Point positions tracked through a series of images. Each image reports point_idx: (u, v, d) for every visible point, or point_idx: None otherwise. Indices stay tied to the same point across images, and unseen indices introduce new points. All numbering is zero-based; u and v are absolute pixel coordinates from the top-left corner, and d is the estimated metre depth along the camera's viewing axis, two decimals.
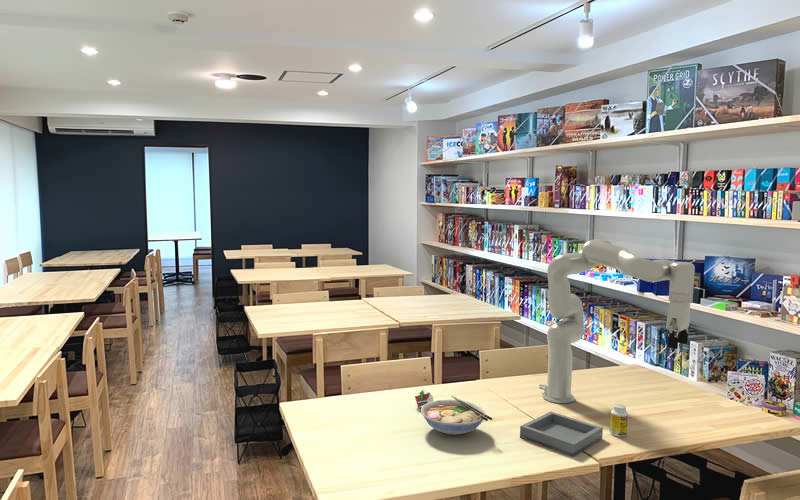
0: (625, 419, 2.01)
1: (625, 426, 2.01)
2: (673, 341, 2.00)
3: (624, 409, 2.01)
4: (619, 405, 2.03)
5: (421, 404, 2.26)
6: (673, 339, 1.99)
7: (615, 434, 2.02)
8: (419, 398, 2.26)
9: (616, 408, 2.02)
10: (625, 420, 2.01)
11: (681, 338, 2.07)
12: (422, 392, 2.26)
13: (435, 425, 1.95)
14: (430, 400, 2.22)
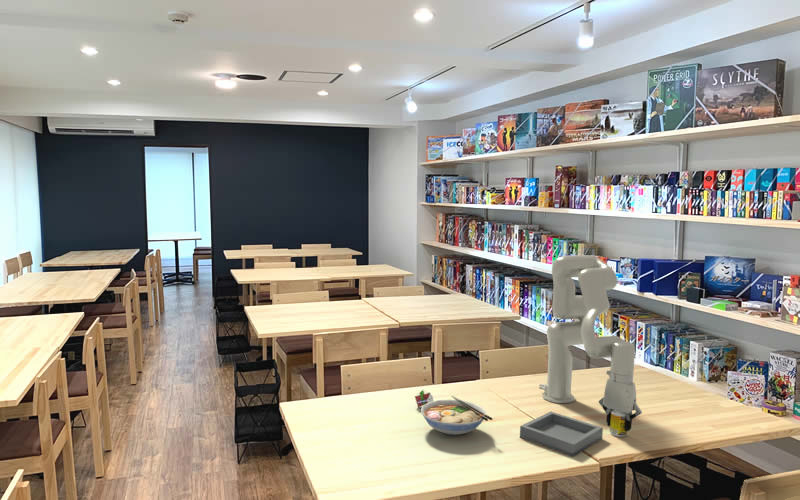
0: (626, 419, 2.01)
1: None
2: (631, 423, 2.01)
3: None
4: None
5: (421, 404, 2.26)
6: (631, 421, 2.01)
7: (615, 434, 2.02)
8: (419, 398, 2.26)
9: None
10: None
11: None
12: (422, 392, 2.26)
13: (435, 425, 1.95)
14: (430, 400, 2.22)
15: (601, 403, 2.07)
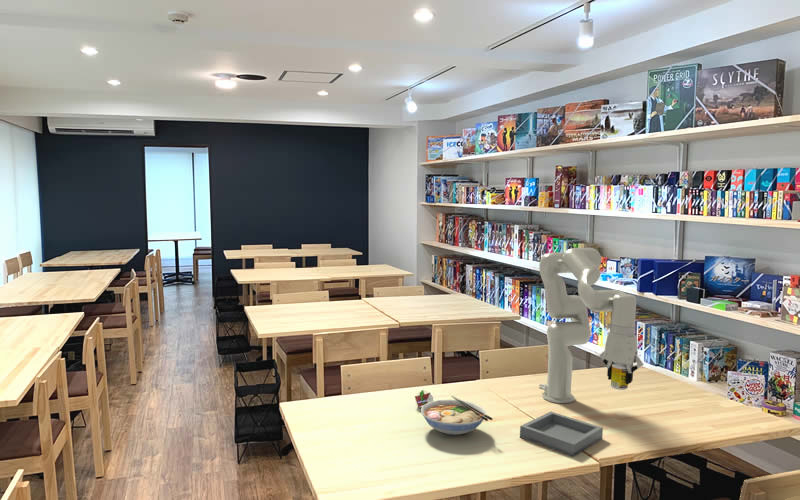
0: (627, 371, 1.99)
1: None
2: (632, 376, 1.99)
3: None
4: None
5: (421, 404, 2.26)
6: (632, 374, 1.99)
7: (616, 387, 2.00)
8: (419, 398, 2.26)
9: None
10: None
11: None
12: (422, 392, 2.26)
13: (435, 425, 1.95)
14: (430, 400, 2.22)
15: (602, 357, 2.05)
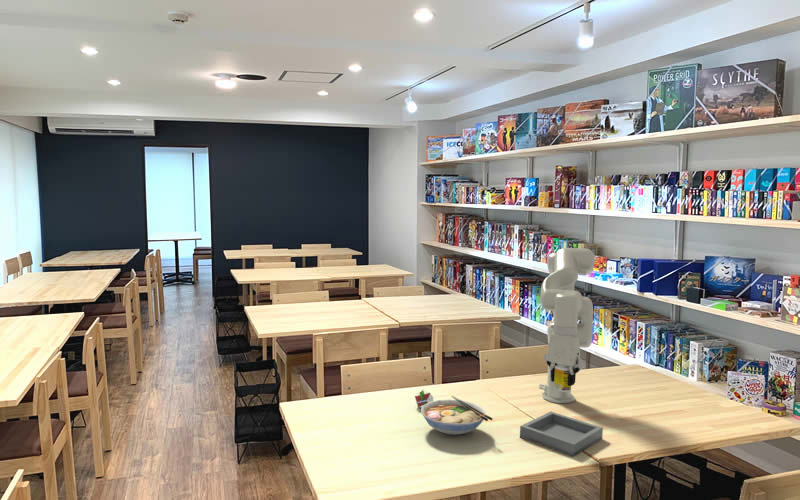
0: (569, 373, 1.94)
1: None
2: (574, 378, 1.94)
3: None
4: None
5: (421, 404, 2.26)
6: (575, 376, 1.94)
7: (559, 389, 1.95)
8: (419, 398, 2.26)
9: None
10: None
11: None
12: (422, 392, 2.26)
13: (435, 425, 1.95)
14: (430, 400, 2.22)
15: (545, 358, 2.00)
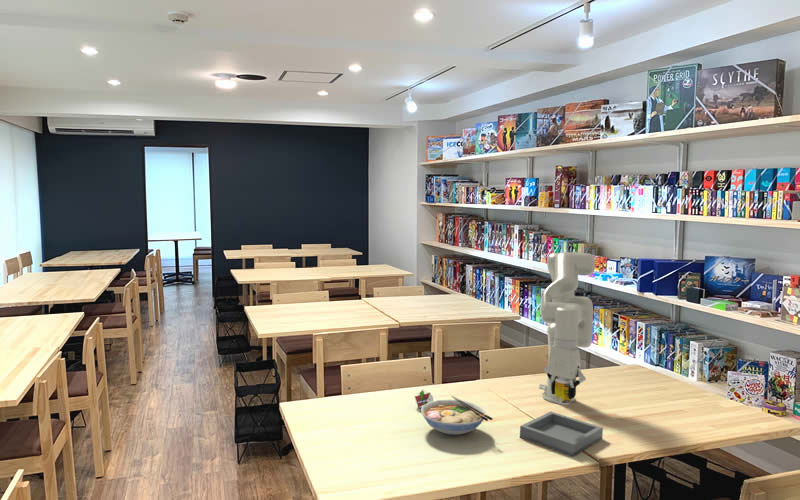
0: (569, 386, 1.95)
1: None
2: (575, 390, 1.95)
3: None
4: None
5: (421, 404, 2.26)
6: (575, 389, 1.95)
7: (559, 402, 1.96)
8: (419, 398, 2.26)
9: None
10: None
11: None
12: (422, 392, 2.26)
13: (435, 425, 1.95)
14: (430, 400, 2.22)
15: (546, 371, 2.01)
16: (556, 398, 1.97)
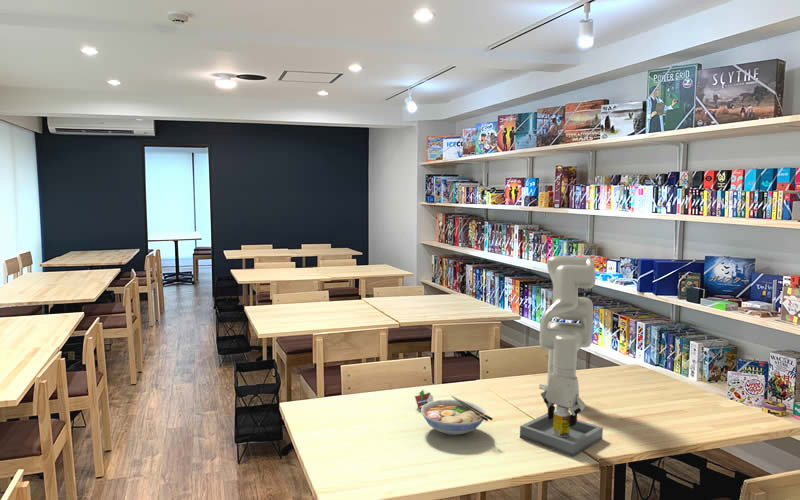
0: (568, 419, 1.97)
1: (567, 426, 1.97)
2: (576, 418, 1.96)
3: (566, 409, 1.97)
4: None
5: (421, 404, 2.26)
6: (576, 416, 1.95)
7: (557, 434, 1.97)
8: (419, 398, 2.26)
9: (558, 408, 1.98)
10: (567, 420, 1.97)
11: (552, 414, 2.01)
12: (422, 392, 2.26)
13: (435, 425, 1.95)
14: (430, 400, 2.22)
15: (543, 396, 2.03)
16: (554, 431, 1.98)
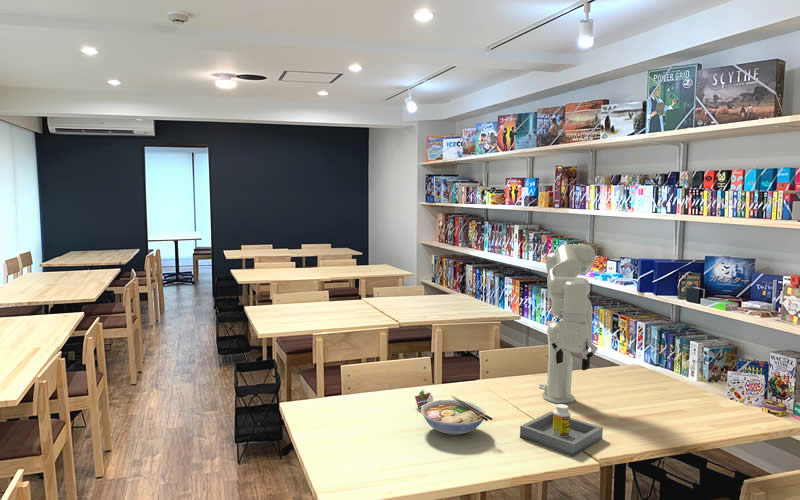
0: (568, 419, 1.97)
1: (567, 426, 1.97)
2: (588, 362, 1.96)
3: (566, 409, 1.97)
4: (561, 405, 1.99)
5: (421, 404, 2.26)
6: (588, 360, 1.96)
7: (557, 435, 1.97)
8: (419, 398, 2.26)
9: (558, 408, 1.98)
10: (567, 420, 1.97)
11: (560, 358, 2.03)
12: (422, 392, 2.26)
13: (435, 425, 1.95)
14: (430, 400, 2.22)
15: (552, 340, 2.04)
16: (554, 431, 1.98)
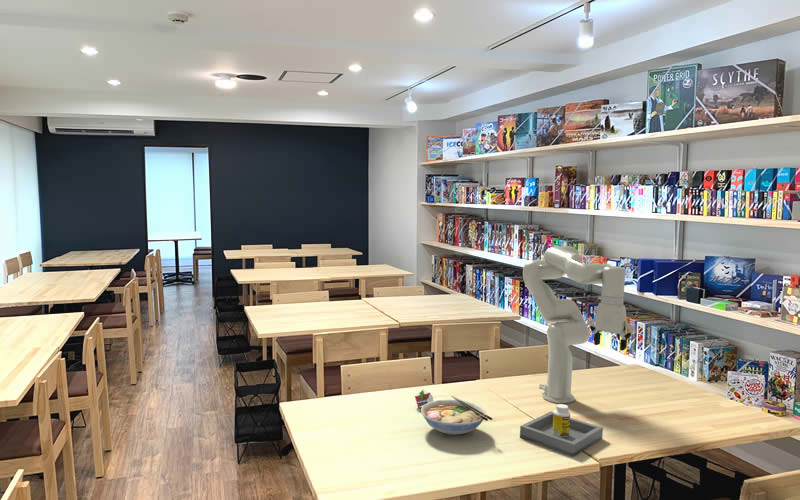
0: (568, 419, 1.97)
1: (567, 426, 1.97)
2: (626, 343, 2.08)
3: (566, 409, 1.97)
4: (562, 405, 1.99)
5: (421, 404, 2.26)
6: (626, 341, 2.07)
7: (557, 435, 1.97)
8: (419, 398, 2.26)
9: (558, 408, 1.98)
10: (567, 420, 1.97)
11: (598, 340, 2.14)
12: (422, 392, 2.26)
13: (435, 425, 1.95)
14: (430, 400, 2.22)
15: (590, 323, 2.16)
16: (554, 431, 1.98)
